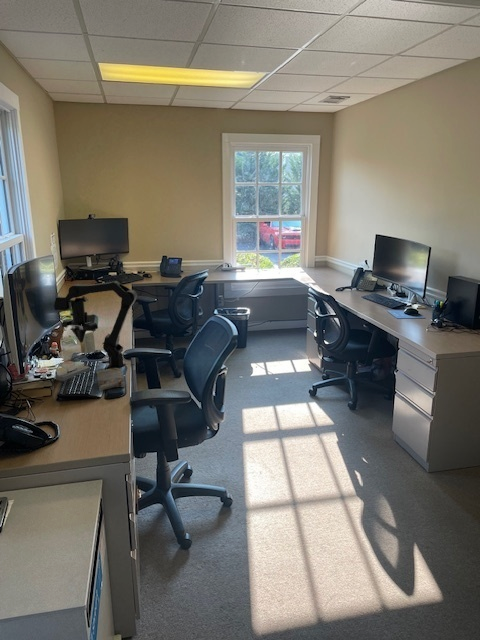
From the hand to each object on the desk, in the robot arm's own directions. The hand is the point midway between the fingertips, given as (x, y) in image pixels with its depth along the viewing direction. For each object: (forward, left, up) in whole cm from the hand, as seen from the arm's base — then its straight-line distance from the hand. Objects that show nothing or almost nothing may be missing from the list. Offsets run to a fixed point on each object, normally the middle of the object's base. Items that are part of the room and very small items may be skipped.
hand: (81, 342), depth 224 cm
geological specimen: (-29, +11, -13) cm, 34 cm away
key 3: (-3, +16, -12) cm, 20 cm away
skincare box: (+14, -16, -13) cm, 25 cm away
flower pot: (+54, -55, -13) cm, 78 cm away
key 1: (-3, +6, -12) cm, 14 cm away
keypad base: (-3, +11, -12) cm, 17 cm away
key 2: (-3, +11, -10) cm, 15 cm away
